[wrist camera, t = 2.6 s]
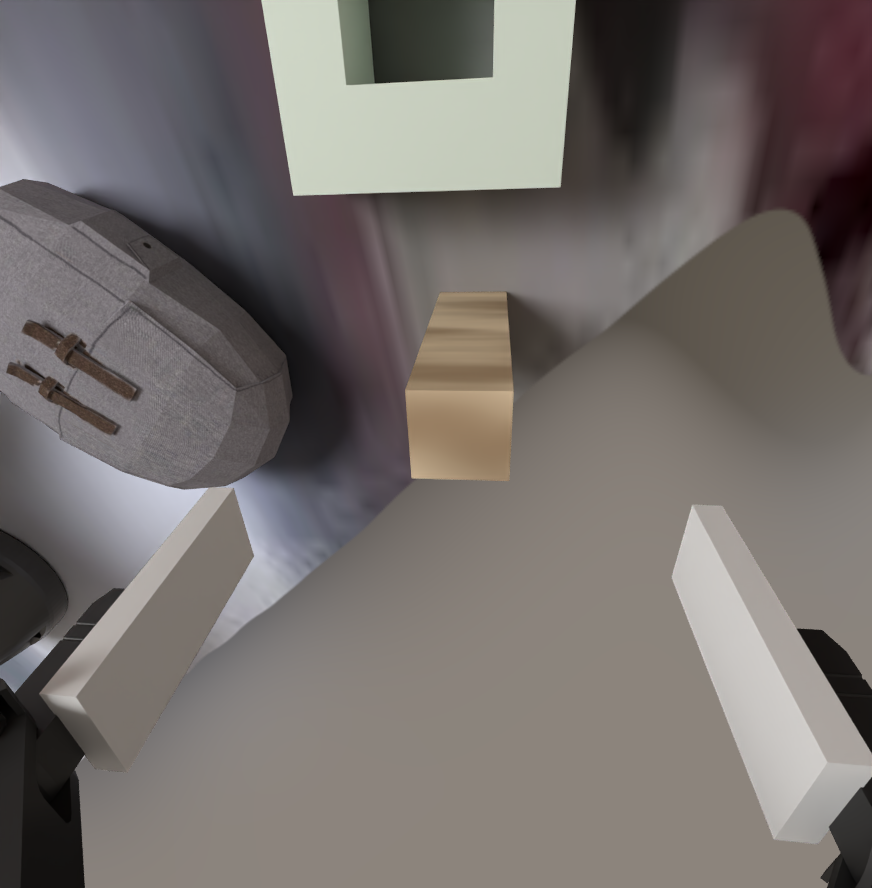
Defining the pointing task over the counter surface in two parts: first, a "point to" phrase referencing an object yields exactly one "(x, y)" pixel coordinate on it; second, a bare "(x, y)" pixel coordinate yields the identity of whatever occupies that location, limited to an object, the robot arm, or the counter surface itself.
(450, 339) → the peg
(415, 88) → the socket block
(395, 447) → the counter surface
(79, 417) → the small grey backpack
